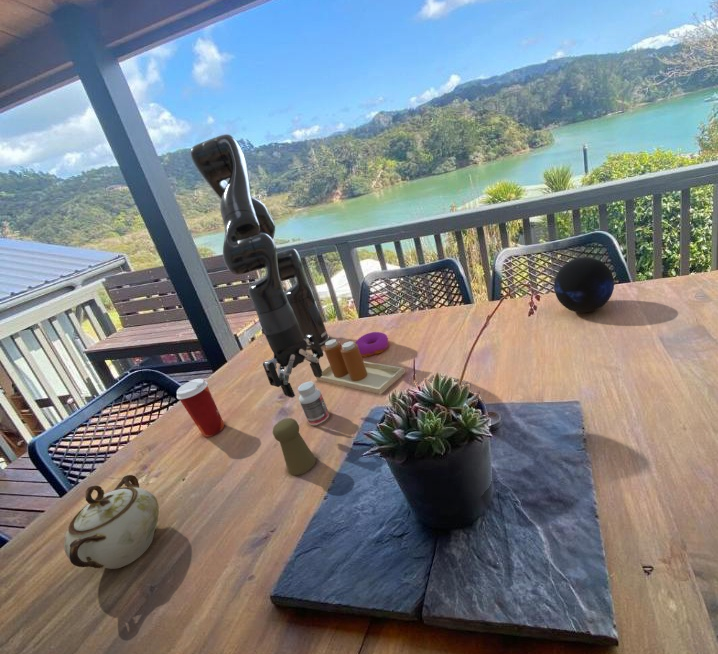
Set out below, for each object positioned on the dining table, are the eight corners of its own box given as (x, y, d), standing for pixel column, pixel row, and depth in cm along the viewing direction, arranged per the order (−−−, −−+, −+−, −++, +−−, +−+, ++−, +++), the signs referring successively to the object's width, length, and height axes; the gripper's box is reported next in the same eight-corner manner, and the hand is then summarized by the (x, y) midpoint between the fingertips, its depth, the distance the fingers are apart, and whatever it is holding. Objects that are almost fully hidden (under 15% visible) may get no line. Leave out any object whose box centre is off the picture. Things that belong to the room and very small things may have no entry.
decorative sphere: (575, 296, 131) (570, 248, 125) (626, 302, 119) (623, 249, 113) (546, 317, 123) (539, 267, 117) (597, 326, 111) (592, 271, 106)
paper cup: (234, 419, 117) (211, 376, 111) (216, 439, 110) (191, 393, 105) (211, 421, 119) (188, 378, 114) (192, 440, 113) (167, 395, 107)
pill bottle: (333, 417, 105) (320, 384, 101) (313, 429, 103) (299, 395, 99) (324, 409, 109) (311, 377, 105) (305, 420, 107) (291, 387, 103)
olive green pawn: (286, 462, 94) (267, 421, 89) (313, 450, 95) (295, 410, 91) (289, 479, 88) (269, 437, 84) (317, 466, 90) (299, 424, 85)
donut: (356, 361, 129) (351, 348, 127) (359, 346, 139) (355, 334, 137) (390, 353, 128) (385, 340, 127) (390, 339, 138) (386, 326, 136)
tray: (317, 381, 124) (314, 375, 124) (341, 363, 131) (339, 357, 130) (381, 395, 108) (379, 389, 107) (405, 374, 115) (403, 367, 114)
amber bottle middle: (347, 379, 119) (335, 347, 115) (358, 370, 123) (347, 339, 119) (359, 382, 116) (347, 349, 112) (370, 372, 120) (360, 340, 116)
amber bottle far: (330, 376, 124) (318, 345, 120) (342, 367, 127) (331, 337, 123) (341, 378, 121) (330, 346, 117) (353, 369, 124) (342, 338, 120)
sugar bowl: (120, 517, 91) (82, 463, 85) (188, 499, 91) (154, 443, 85) (60, 609, 73) (5, 548, 67) (144, 586, 73) (96, 523, 67)
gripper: (294, 310, 103) (317, 368, 109) (244, 339, 93) (272, 401, 100) (314, 311, 98) (337, 372, 104) (263, 341, 89) (291, 406, 95)
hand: (305, 386), depth 102 cm, fingers open, 8 cm apart
